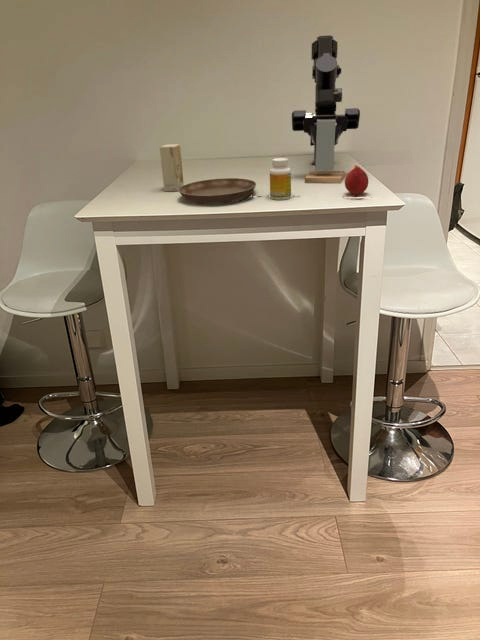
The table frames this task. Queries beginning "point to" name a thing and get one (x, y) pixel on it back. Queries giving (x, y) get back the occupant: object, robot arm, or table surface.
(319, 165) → the slate block
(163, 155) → the skincare box
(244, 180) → the plant saucer
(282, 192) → the supplement bottle
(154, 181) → the table surface
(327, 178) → the oak top slab
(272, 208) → the table surface
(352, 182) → the onion
